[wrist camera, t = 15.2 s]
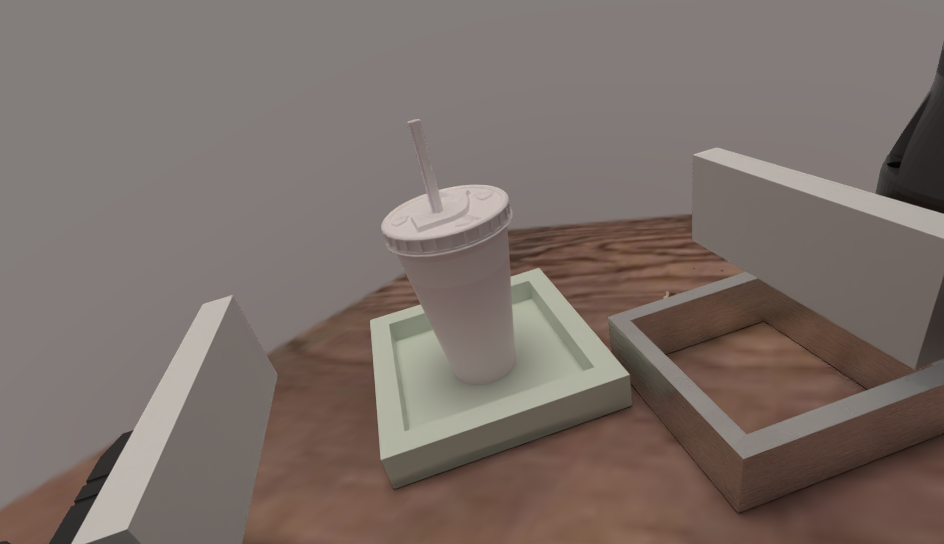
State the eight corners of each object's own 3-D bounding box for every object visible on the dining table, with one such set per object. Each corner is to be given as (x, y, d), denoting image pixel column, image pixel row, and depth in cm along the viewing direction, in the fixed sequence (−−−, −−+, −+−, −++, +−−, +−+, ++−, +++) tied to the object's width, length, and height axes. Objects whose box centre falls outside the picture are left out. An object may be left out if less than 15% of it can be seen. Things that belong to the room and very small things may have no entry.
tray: (543, 292, 33) (539, 268, 33) (632, 405, 23) (629, 374, 22) (379, 343, 32) (370, 320, 31) (393, 488, 22) (380, 459, 21)
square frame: (765, 309, 27) (770, 264, 26) (954, 429, 19) (976, 371, 17) (612, 361, 26) (608, 317, 25) (738, 513, 18) (743, 458, 16)
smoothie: (409, 391, 26) (318, 146, 20) (461, 323, 31) (402, 107, 25) (513, 413, 23) (447, 132, 17) (554, 334, 28) (514, 90, 21)
